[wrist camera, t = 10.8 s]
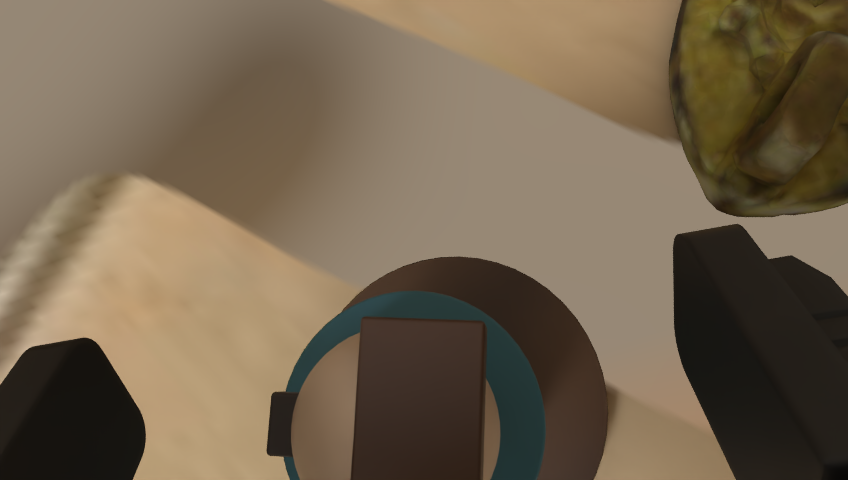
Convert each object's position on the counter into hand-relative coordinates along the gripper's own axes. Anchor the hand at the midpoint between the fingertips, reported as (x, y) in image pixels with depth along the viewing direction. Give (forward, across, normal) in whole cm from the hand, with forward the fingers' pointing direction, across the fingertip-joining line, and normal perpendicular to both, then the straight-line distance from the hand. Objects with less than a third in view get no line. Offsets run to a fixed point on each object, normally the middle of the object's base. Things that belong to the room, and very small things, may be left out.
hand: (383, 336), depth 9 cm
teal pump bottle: (+6, 0, +8) cm, 11 cm away
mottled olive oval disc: (+15, -14, +3) cm, 20 cm away
